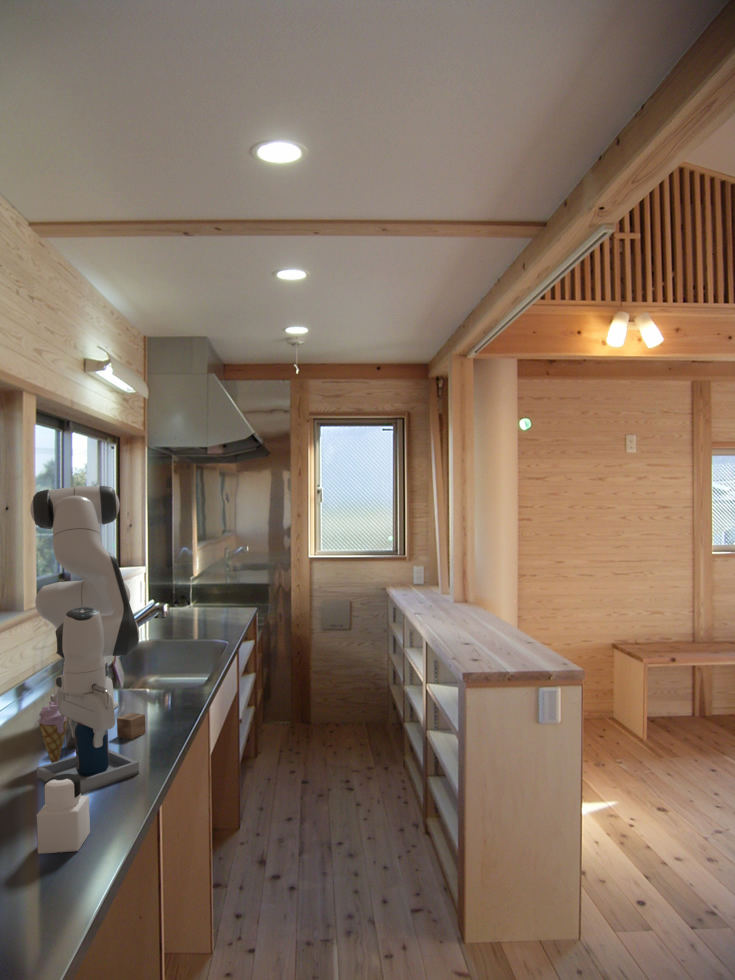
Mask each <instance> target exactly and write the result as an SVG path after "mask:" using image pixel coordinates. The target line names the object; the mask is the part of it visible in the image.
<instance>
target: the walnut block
mask: <svg viewBox="0 0 735 980" xmlns="http://www.w3.org/2000/svg"><path fill="white" fill-rule="evenodd" d="M116 731H117V733H116V734H117V738H122V739H129V740H133V739H135V738H138V737H140V736H142V735H145V734H146V714H142V713H136V712H129V713H127V714H124V715H122V716H119V717H116Z"/></svg>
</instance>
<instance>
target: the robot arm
mask: <svg viewBox="0 0 735 980" xmlns="http://www.w3.org/2000/svg"><path fill="white" fill-rule="evenodd" d="M29 512H30V516H31V518H32V520H33V522H34V524H35V525H36V526H38V527H39V528H40V529H45V530H52V548H53V553H54V558H55V560H56V562H57V563H58V564H59V565H60V566H61V567H62V568H63V569H64V570H65V571H66V572H67V573H70V574H72V575H75V576H77V577H79V578H81V580H68V581H58V582H54V583H49V584H46V585H43V586H42V587H41V588H40V589H39V591H38V592H37V594H36V597H35V602H34V603H35V609H36V611H37V613H38V614H39V616H40V617H42V618H43V619H44V620H45V621H48V622H49V623H50V624H52V625H53V626H54V627H55V629H56V630H55V637H56V655H59V657H60V658H61V659H64V664H63V667H62V669H63V670H62V673H63V674H61V675H57V676H55V677H54V685H55V687H56V688H55V689H54V690H53V691H52V694H51V695H50V698H49V699H50V702H53V703H55V700H56V699H57V702H58V710H59V712H60V715H61V716H64V717H66V718H69V724H70V727H71V730H72V737H73V738H75V729H76V726H77V724H78V722H79V723H82V724H83V725H86V726H88V727H90V728H93V732H94V733H95V734H94V739H92V746H93V747H95V748H98V747H101V746H102V745H103V739H102V738H103V736H104V733H105V730H108V731H109V730H111V729H113V728H114V727H115V724H116V714H115V709H116V708H117V707H119V701H115V695H114V687H113V685H114V684H113V680H112V679H111V678H109V664H108V662H107V657H111V656H112V657H127V656H128V655H130V654H131V653H132V652H133V651H134V650H135V649H136V648H137V647H138V645H139V641H140V629H139V626H138V625H139V624H138V622H137V621H136V618H135V616H134V613H133V610H132V607H131V603H130V601H131V592H130V588H129V586H128V585H127V584H126V582H125V580H124V578H123V576H122V572H121V569H120V565H119V563H118V560H117V558H116V557H115V555H114V554H113V553H111V552H108V551H107V550H106V548H105V547H104V545H103V544H102V541H101V534H100V526H99V525H103V526H104V525H106V524H107V525H108V524H111V523H113V522H114V521H115V520H116V519H117V517H118V514H119V512H120V498H119V496H118V495H117V492H116V490H115V489H114V488H113V487H111V486H107V485H100V486H95V485H94V486H90V485H79V486H78V485H77V486H74V487H73V486H71V487H62V488H57V489H43V490H40V491H37V492H36V493H35V494H34V495H33V497H32V500H31V504H30V509H29Z"/></svg>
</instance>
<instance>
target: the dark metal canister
mask: <svg viewBox="0 0 735 980" xmlns="http://www.w3.org/2000/svg"><path fill="white" fill-rule="evenodd" d="M65 749H67V750H76V743H75V738H73V737H72V730H71V727H70V724H69V718H67V726H66V732H65Z"/></svg>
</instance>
